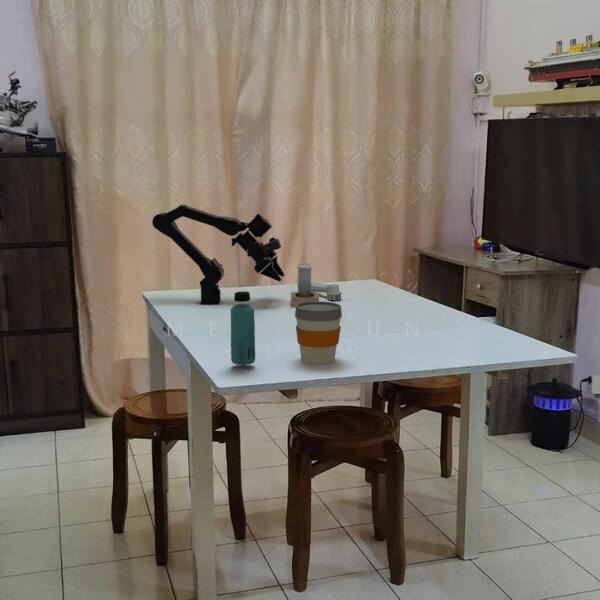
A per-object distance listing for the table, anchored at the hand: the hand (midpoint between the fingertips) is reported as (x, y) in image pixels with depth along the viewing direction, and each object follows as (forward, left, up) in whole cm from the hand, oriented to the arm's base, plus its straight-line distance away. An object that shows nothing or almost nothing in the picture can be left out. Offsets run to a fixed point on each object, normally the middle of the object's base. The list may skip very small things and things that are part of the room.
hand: (282, 278), depth 285 cm
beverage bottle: (-12, -79, -10) cm, 81 cm away
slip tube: (+8, -1, -9) cm, 12 cm away
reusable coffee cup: (+8, -73, -10) cm, 74 cm away
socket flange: (+8, -1, -9) cm, 12 cm away
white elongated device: (+15, +16, -10) cm, 24 cm away
